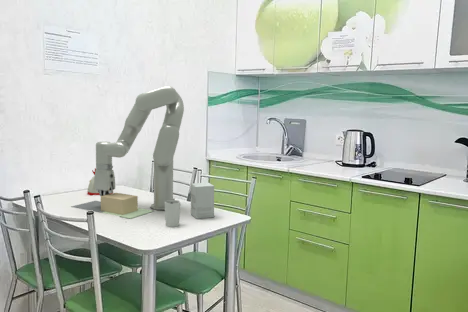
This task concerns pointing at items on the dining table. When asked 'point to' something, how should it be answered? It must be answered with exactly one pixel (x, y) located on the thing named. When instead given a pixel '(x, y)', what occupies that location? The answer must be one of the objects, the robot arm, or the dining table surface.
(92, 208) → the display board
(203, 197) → the supplement box
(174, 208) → the drinking glass
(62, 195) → the dining table surface
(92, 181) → the grey domed piece
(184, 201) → the dining table surface
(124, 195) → the kraft carton
